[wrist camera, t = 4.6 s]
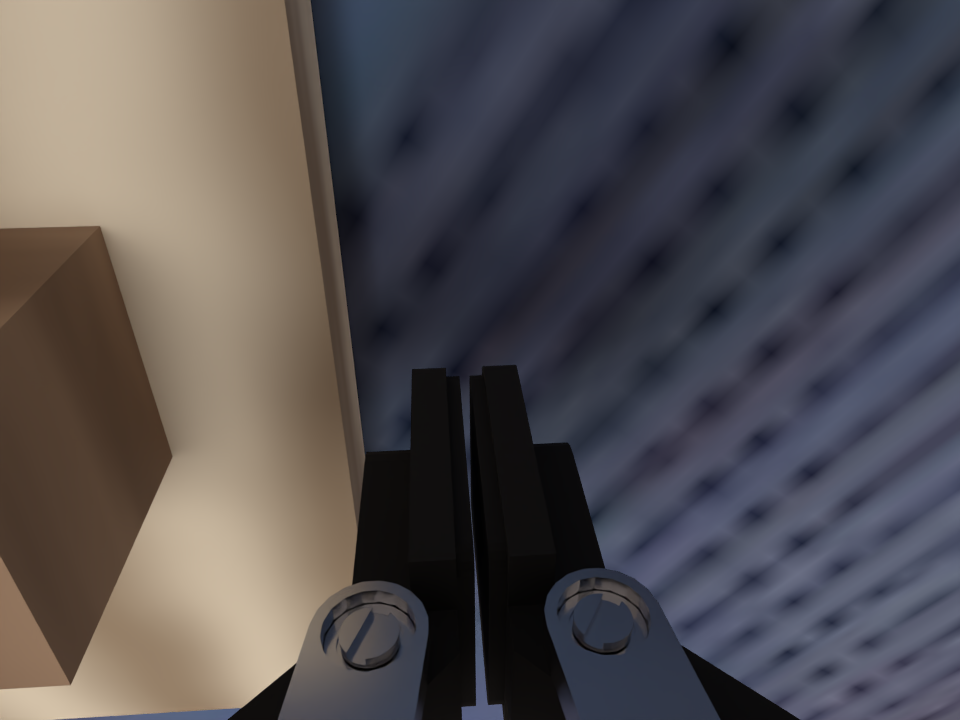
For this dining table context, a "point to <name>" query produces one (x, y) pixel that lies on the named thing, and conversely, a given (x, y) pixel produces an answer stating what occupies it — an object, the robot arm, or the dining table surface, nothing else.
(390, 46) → the dining table surface
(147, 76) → the board
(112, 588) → the walnut block
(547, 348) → the dining table surface
